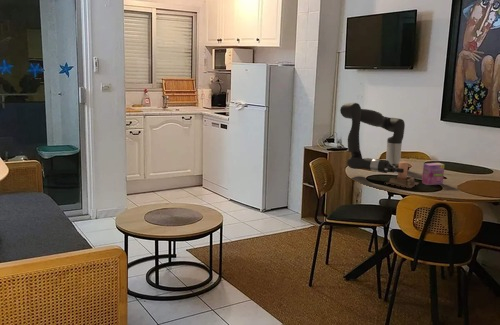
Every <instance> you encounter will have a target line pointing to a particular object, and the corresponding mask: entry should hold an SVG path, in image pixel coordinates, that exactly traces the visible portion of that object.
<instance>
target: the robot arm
mask: <svg viewBox="0 0 500 325" xmlns="http://www.w3.org/2000/svg"><path fill="white" fill-rule="evenodd" d="M339 111H340V114H341V116H342V117H343V118H344V119H350V120H351V128H350V131H349V132H348V136H347V150H348V152H349V153H350V154H351V157H348V159H347V160H346V165H347V166H348V168H350V169H354V170H367V171H372V172H375V173H376V172H377V173H382V174H383V173H384V174H387V173H392V174H393V173H398V172H400V173H403V172H404V169H400V168H399V162H401V156H402V144H403V143H402V142H403V139H404V134H405V126H406V125H405V121H404V119H402V118H396V117H387V116H384V115H383V114H382V113H381V112H379V111H376V110H373V109H368V108H367V109H366V108H362V107H361V106H360V104H359V103H358V102H347V103H343V105H341V107H340V109H339ZM361 123H364V124H367V125H369V126H371V127H376V128H378V127H379V128H382V129H384V130H385V131H388V132H390V133H393V134H392V136H391V137H388V138H387V139H386V140H387V141H386V154H385V159H380V158H379V159H378V158H369V157H365V158H363V154H362V152H361V149H360V148H361V146H360V128H361ZM410 168H411V167H410V166H408V170H407V171H410Z"/></svg>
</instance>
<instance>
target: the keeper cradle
mask: <svg viewBox="0 0 500 325" xmlns="http://www.w3.org/2000/svg"><path fill="white" fill-rule="evenodd" d="M385 183H386V184H385V185H388V184H391V185H390V186H394V185H396V186H395V187H400V186H401V188H405V187H406V189H412V188H413V187H414V188H415V187H416V186H418V185H420V182H416V181H415V177H412V176H407V180H403V179H398V174H397V175H396V177H390V178H389V180H388V181H385ZM415 185H416V186H415Z"/></svg>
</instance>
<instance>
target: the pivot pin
mask: <svg viewBox="0 0 500 325" xmlns="http://www.w3.org/2000/svg"><path fill="white" fill-rule="evenodd" d="M408 167H409V162H408V161H400V162H399V168H400V169H404V172H403V173H400V172H397V175H398V179H403V180H407V177H408V171H409V170H408Z"/></svg>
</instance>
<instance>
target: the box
mask: <svg viewBox="0 0 500 325" xmlns="http://www.w3.org/2000/svg"><path fill="white" fill-rule="evenodd" d="M445 165H446V164H444V163H440V162H431V163H430V162H429V163H428V162H427V163H423V165H422V166H423V168H422V175H421V176H422V178H421V183H422V184H424V185H427V186H432V185H433V186H435V185H443V184H444V174H445Z"/></svg>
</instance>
